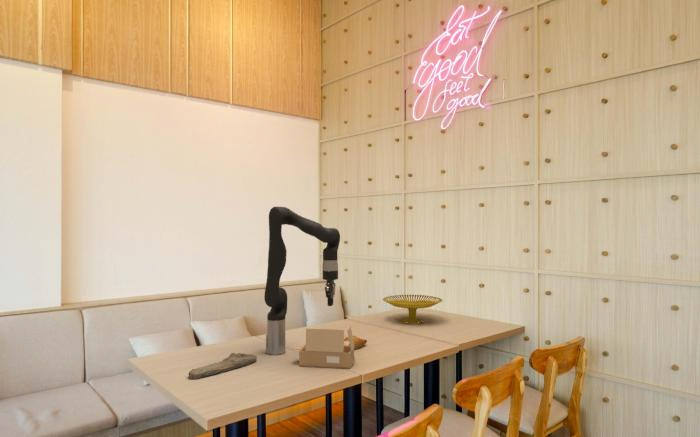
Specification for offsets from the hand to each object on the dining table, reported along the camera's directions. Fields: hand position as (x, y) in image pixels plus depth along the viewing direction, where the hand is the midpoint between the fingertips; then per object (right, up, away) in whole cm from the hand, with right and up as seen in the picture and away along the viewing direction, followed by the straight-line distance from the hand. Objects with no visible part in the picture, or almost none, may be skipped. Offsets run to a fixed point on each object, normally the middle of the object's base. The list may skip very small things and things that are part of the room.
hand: (330, 305), depth 218 cm
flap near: (-2, -20, -9) cm, 22 cm away
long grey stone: (-48, -28, -10) cm, 57 cm away
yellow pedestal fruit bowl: (+52, -28, +88) cm, 106 cm away
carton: (-3, -27, +1) cm, 27 cm away
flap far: (+11, -20, -5) cm, 23 cm away
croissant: (+9, -28, +23) cm, 37 cm away
